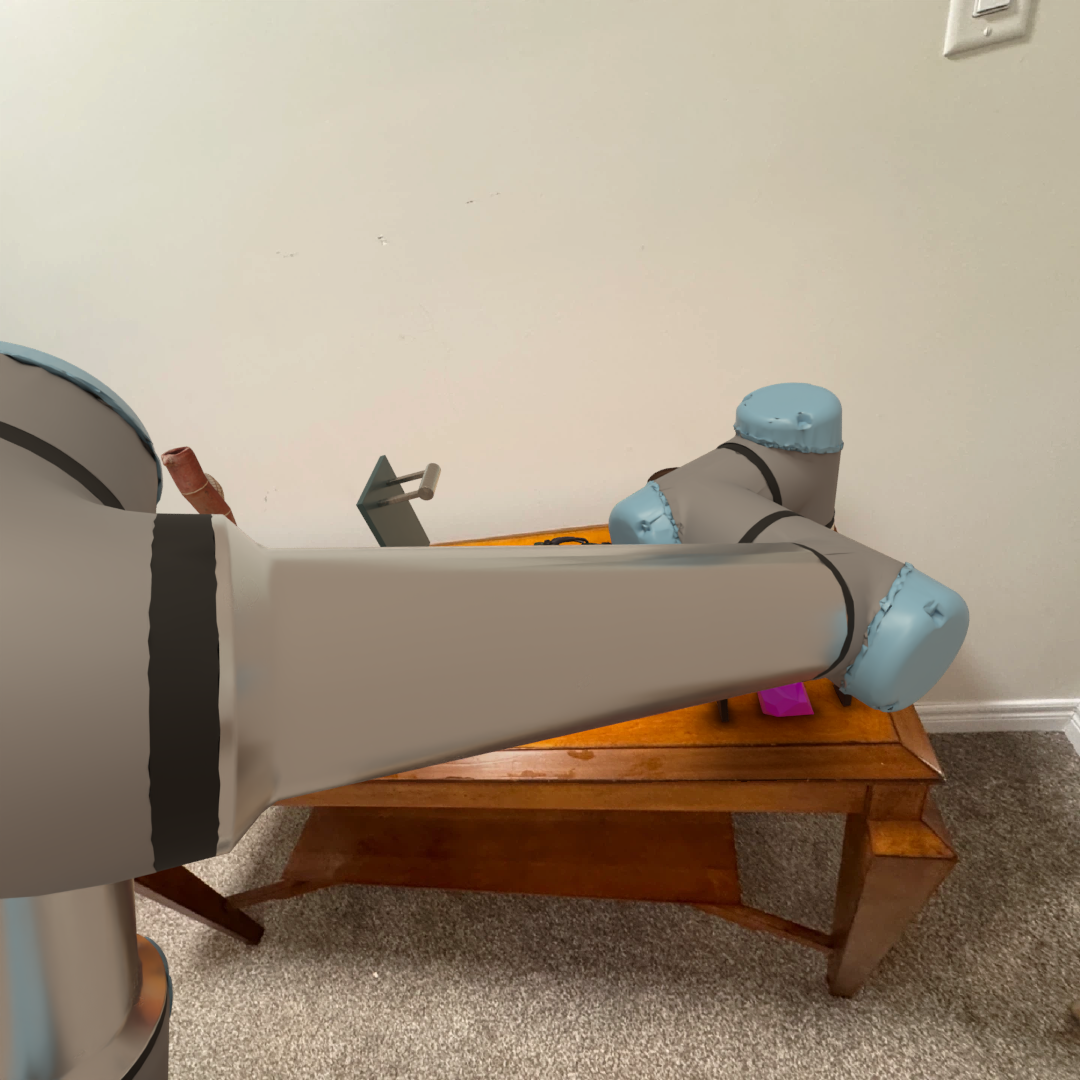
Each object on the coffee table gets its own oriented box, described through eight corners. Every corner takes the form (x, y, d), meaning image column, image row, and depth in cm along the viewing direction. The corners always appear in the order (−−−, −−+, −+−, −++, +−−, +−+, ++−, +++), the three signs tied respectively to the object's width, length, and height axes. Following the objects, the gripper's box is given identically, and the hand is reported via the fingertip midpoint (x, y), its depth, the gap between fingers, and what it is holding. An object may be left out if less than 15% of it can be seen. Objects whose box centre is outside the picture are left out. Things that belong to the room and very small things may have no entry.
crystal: (770, 730, 62) (770, 704, 59) (747, 691, 66) (747, 665, 64) (816, 717, 62) (819, 690, 59) (791, 679, 66) (792, 653, 64)
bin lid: (355, 505, 68) (420, 488, 66) (379, 456, 77) (436, 440, 76) (410, 598, 76) (468, 584, 75) (425, 543, 86) (477, 531, 85)
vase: (270, 612, 101) (167, 465, 84) (235, 615, 103) (127, 472, 85) (297, 572, 109) (209, 432, 92) (264, 576, 111) (171, 439, 94)
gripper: (655, 606, 50) (677, 747, 63) (955, 558, 47) (915, 717, 59) (643, 553, 56) (665, 691, 69) (908, 507, 53) (881, 661, 65)
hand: (781, 703), depth 64 cm, fingers open, 12 cm apart
